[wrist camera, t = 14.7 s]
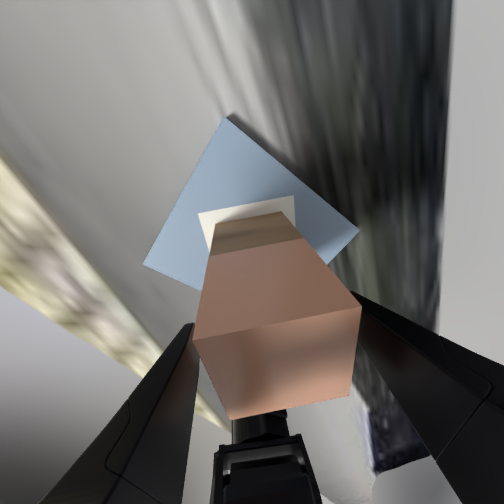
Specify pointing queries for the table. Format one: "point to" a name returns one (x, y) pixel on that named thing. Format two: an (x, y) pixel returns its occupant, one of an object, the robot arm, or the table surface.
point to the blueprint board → (240, 206)
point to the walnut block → (252, 233)
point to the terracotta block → (275, 329)
